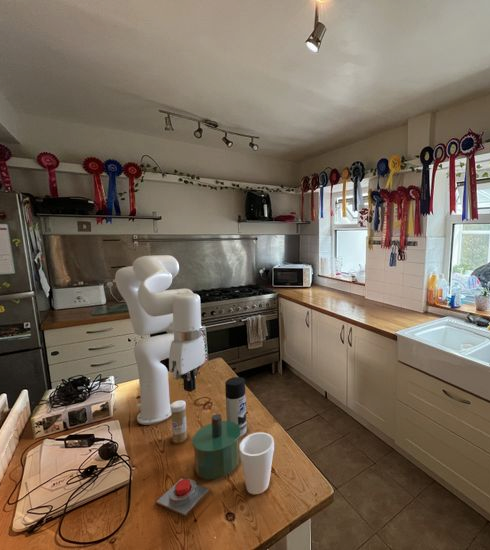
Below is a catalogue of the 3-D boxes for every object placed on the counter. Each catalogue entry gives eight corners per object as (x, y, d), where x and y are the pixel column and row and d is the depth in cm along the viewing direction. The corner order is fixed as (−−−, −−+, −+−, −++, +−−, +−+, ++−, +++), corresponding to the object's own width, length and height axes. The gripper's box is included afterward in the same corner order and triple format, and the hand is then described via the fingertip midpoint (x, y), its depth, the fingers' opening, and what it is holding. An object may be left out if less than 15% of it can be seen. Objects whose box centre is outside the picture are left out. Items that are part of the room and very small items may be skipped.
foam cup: (256, 505, 77) (255, 461, 75) (233, 489, 81) (232, 447, 80) (281, 480, 85) (280, 439, 83) (258, 467, 89) (258, 428, 88)
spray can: (240, 440, 101) (239, 386, 98) (223, 437, 102) (221, 384, 99) (249, 428, 107) (248, 377, 105) (233, 425, 109) (231, 375, 106)
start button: (172, 493, 77) (171, 487, 77) (183, 483, 80) (183, 477, 80) (182, 498, 76) (182, 492, 75) (193, 487, 79) (193, 481, 79)
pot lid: (181, 447, 85) (180, 424, 84) (215, 419, 98) (214, 400, 97) (219, 460, 80) (218, 436, 79) (249, 429, 93) (249, 409, 92)
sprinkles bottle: (169, 444, 98) (167, 407, 97) (176, 435, 103) (174, 399, 101) (183, 444, 99) (181, 407, 97) (189, 434, 103) (187, 399, 101)
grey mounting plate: (156, 505, 76) (155, 495, 76) (181, 481, 84) (181, 472, 83) (185, 518, 73) (184, 508, 72) (209, 492, 80) (208, 483, 80)
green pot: (185, 473, 87) (184, 444, 85) (216, 445, 98) (215, 419, 97) (219, 486, 82) (218, 456, 81) (247, 455, 94) (246, 428, 93)
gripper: (197, 325, 97) (199, 376, 99) (156, 340, 83) (159, 399, 85) (215, 328, 94) (216, 381, 97) (175, 344, 80) (178, 405, 83)
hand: (189, 389), depth 91 cm, fingers closed
